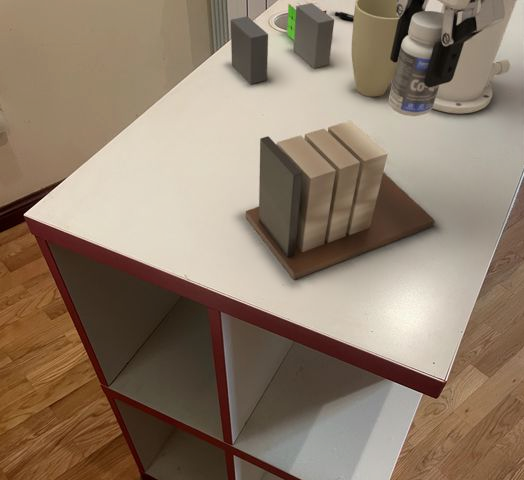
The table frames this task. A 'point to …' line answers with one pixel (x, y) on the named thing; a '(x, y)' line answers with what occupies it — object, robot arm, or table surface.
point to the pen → (345, 16)
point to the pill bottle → (416, 65)
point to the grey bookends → (305, 42)
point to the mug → (373, 45)
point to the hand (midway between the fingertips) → (420, 69)
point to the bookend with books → (329, 199)
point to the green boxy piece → (293, 15)
